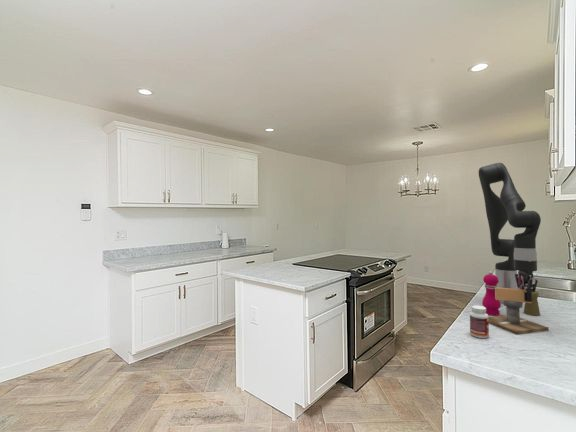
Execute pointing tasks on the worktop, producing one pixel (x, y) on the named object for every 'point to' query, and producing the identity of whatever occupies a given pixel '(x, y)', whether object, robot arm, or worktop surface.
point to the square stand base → (515, 323)
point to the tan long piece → (511, 297)
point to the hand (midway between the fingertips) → (526, 300)
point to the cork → (532, 306)
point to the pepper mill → (491, 295)
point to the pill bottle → (479, 322)
